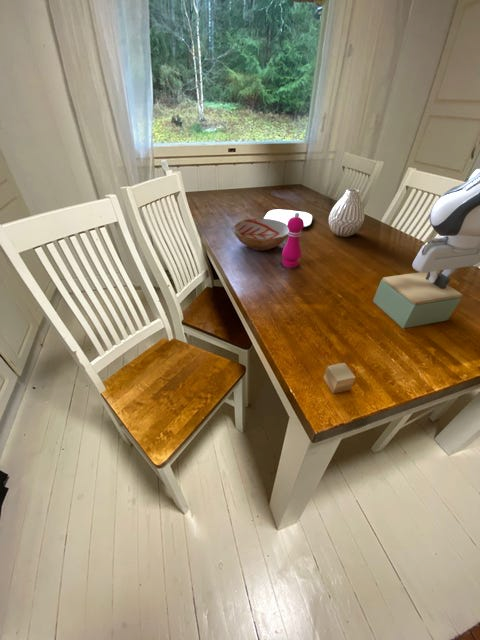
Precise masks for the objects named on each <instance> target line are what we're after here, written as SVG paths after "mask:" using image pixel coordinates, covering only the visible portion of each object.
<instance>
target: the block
mask: <svg viewBox="0 0 480 640" xmlns="http://www.w3.org/2000/svg"><path fill="white" fill-rule="evenodd" d="M323 380H324V382H325V383H326V385H327V386H328V388H329V390H330V391H331V393H332V394H333V395H334V394H338V393H342V392H346V391H350V390H351V389H352V387H353V385H354V382H355V380H356V375H354V373H353V372H352V370H351V369H350V367H349V366H348V365H347V363H345V362H341V363H335V364H332V365H327V366H326V369H325V373H324V375H323Z"/></svg>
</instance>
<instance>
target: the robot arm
mask: <svg viewBox="0 0 480 640" xmlns="http://www.w3.org/2000/svg"><path fill="white" fill-rule="evenodd" d="M429 223H430V226H431V227H432V229H433V231H435V233H437V234H438V235H439V236H438V237H433V238H431V239H430V240H428V241H427V242H425V244H424V245H422V246H421V248H420V250H419V251H418V253H417V255H416V256H415V258H414V260H413V262H412V264H411V266H412V269H414V270H415V271H416V272H417V273H418V272H420V273H425V272H427V273H428V272H430V277H429V281H430V282H431V283H435V282H437V281H438V279H439V277H438V273H441V274H442V275H444V276H446V277H448V278H449V277H450V276H451V275H452V274H453V273H455V271H456V269H460V268H466V267H467V268H468V267H474V266H476V265H478V264H479V263H480V167H478V168H476V169H475V170H474V171H473V172H472V173H471V175H470V176H469V178H468V179H467V181H465V182H463V183H462V184H459V185H457V186H453V187H452V188H450V189H449V190H447V191H445V192H444V193H443V194H441V195H440V196H439V197H438V198H437V199H436V201H435V202H434V203H433V205H432V207H431V209H430V213H429ZM441 271H442V272H441Z"/></svg>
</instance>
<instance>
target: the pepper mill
mask: <svg viewBox="0 0 480 640" xmlns="http://www.w3.org/2000/svg"><path fill="white" fill-rule="evenodd" d="M287 227H288V229H289V230H288V233H287V234H288V236H287V237H288V238H287V241H286V244H285V245H284V247H283V249H282V252H281V255H282V257H283V258H282V263H281V264H282V265H283V266H284V267H286V268H296V267H298V266H299V261H300V260H299V259H300V258H301V256H302V249H301V246H300V245H301V244H300V237H301V236H302V230H303V229H304V228H305V227H304V221H303V219H302V218H300V217H299V213H295V214H294V217H292V218H290V219H289V220H288V223H287Z"/></svg>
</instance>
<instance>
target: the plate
mask: <svg viewBox="0 0 480 640" xmlns="http://www.w3.org/2000/svg"><path fill="white" fill-rule="evenodd" d="M295 213H299V217H300V218H302V219H303V221H304V227H303V228H307V227H309V226H310V225H311V224H312V221H313V215H312V214H310V213H309V212H306V211H298V210H291V209H272V210H269V211H268V212H267V213H266V214H265V216H264V217H263V218H264V219H272V220H277V221H280V222H283V223H285V224H287V223H288V220H289V219H290V218H292V217H294V214H295Z"/></svg>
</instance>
